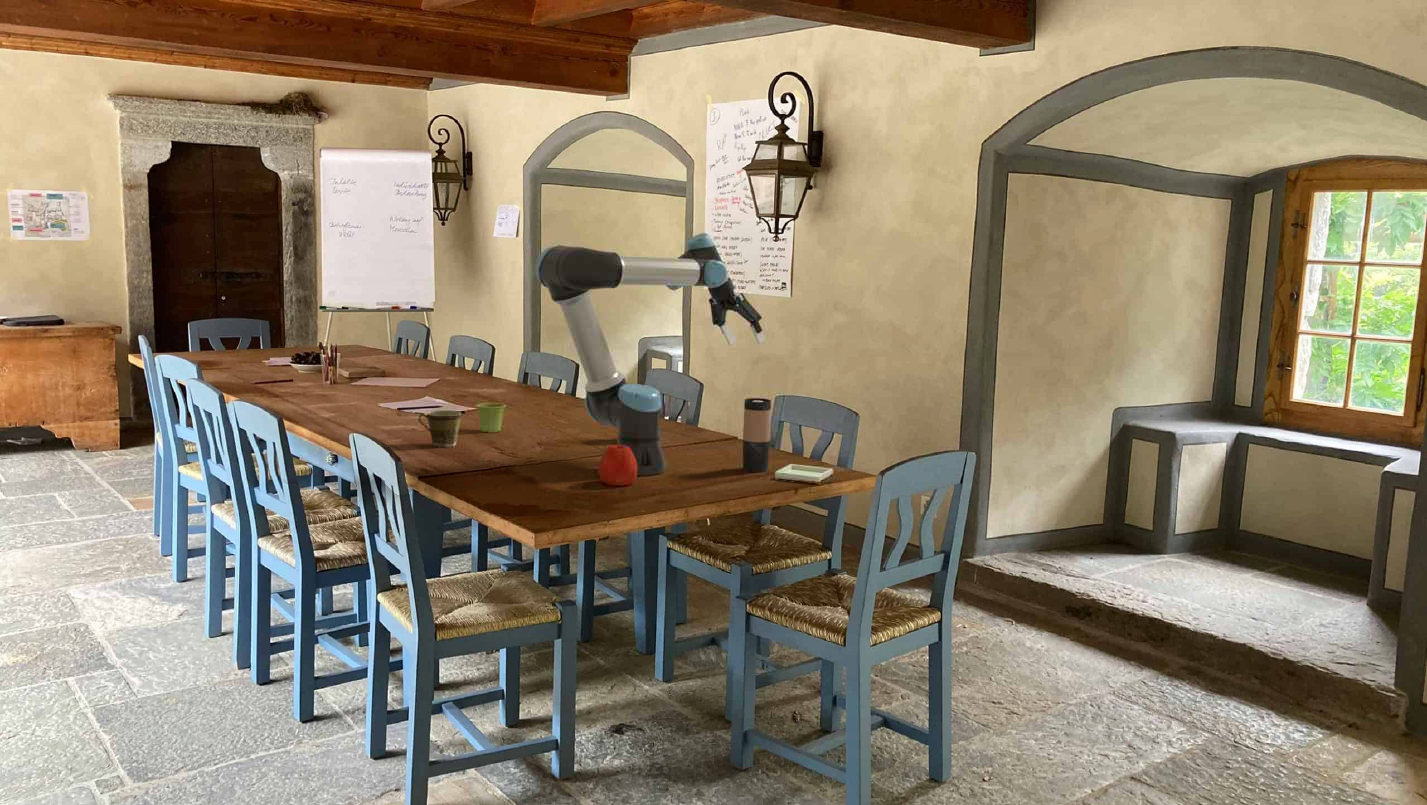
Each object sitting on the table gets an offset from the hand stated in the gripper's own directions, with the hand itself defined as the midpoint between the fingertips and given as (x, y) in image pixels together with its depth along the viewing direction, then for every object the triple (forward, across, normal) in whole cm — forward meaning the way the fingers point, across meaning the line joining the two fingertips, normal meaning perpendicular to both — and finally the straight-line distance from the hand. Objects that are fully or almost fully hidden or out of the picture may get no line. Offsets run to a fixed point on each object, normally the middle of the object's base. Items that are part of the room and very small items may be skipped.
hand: (747, 342), depth 340 cm
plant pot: (-4, +69, +58) cm, 90 cm away
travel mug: (+22, -22, +34) cm, 46 cm away
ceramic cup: (-15, +56, +80) cm, 99 cm away
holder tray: (+25, -37, +31) cm, 55 cm away
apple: (0, -15, +71) cm, 72 cm away
